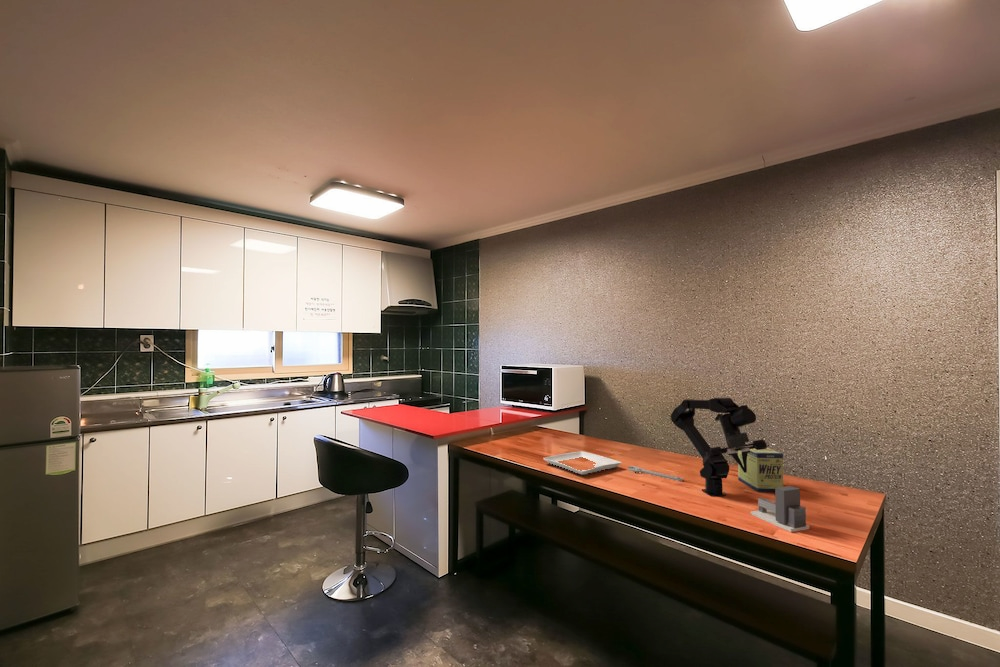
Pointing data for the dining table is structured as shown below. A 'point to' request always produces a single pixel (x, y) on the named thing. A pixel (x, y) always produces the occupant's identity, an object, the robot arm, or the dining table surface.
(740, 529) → the dining table surface
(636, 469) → the adjustable wrench
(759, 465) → the protein box
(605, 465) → the square plate
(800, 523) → the grey block cluster
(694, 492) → the dining table surface
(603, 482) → the dining table surface
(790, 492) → the tall gray block
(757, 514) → the white board
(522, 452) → the dining table surface
